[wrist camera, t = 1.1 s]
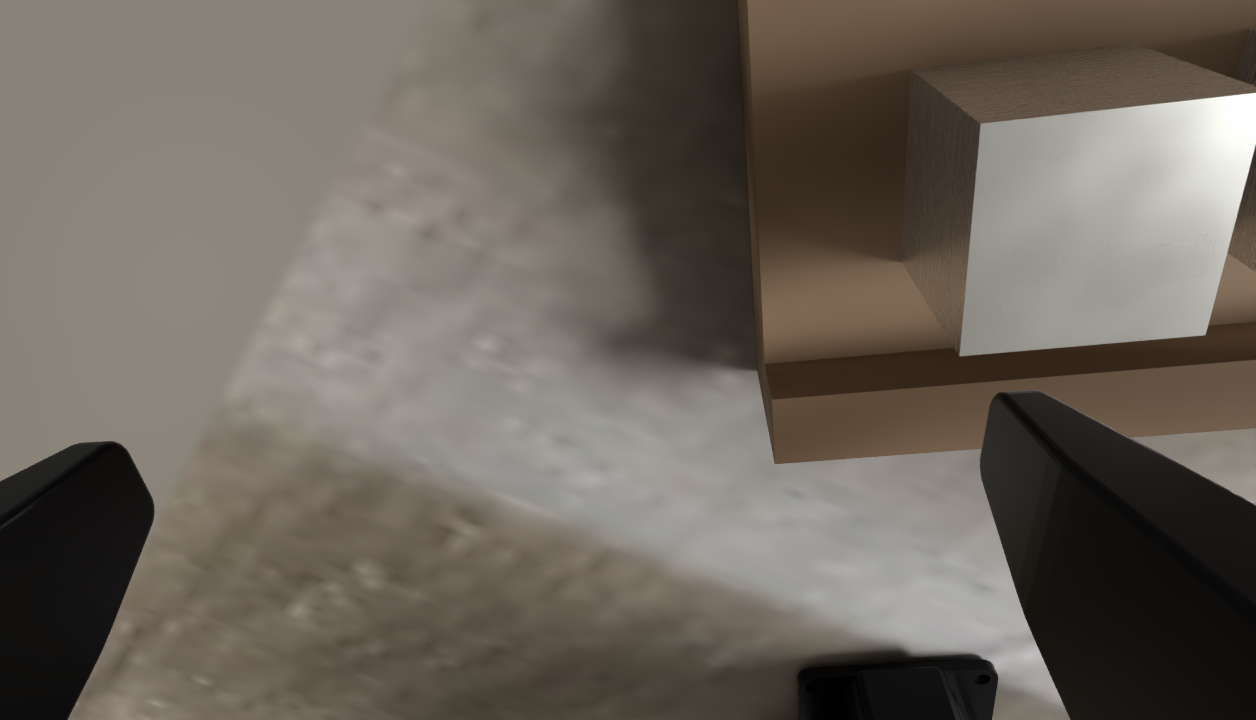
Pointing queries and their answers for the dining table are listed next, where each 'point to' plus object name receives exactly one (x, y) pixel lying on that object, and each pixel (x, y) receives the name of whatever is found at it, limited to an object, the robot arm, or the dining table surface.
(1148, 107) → the brushed metal block
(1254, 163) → the grey metal cube
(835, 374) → the slot block
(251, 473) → the dining table surface
